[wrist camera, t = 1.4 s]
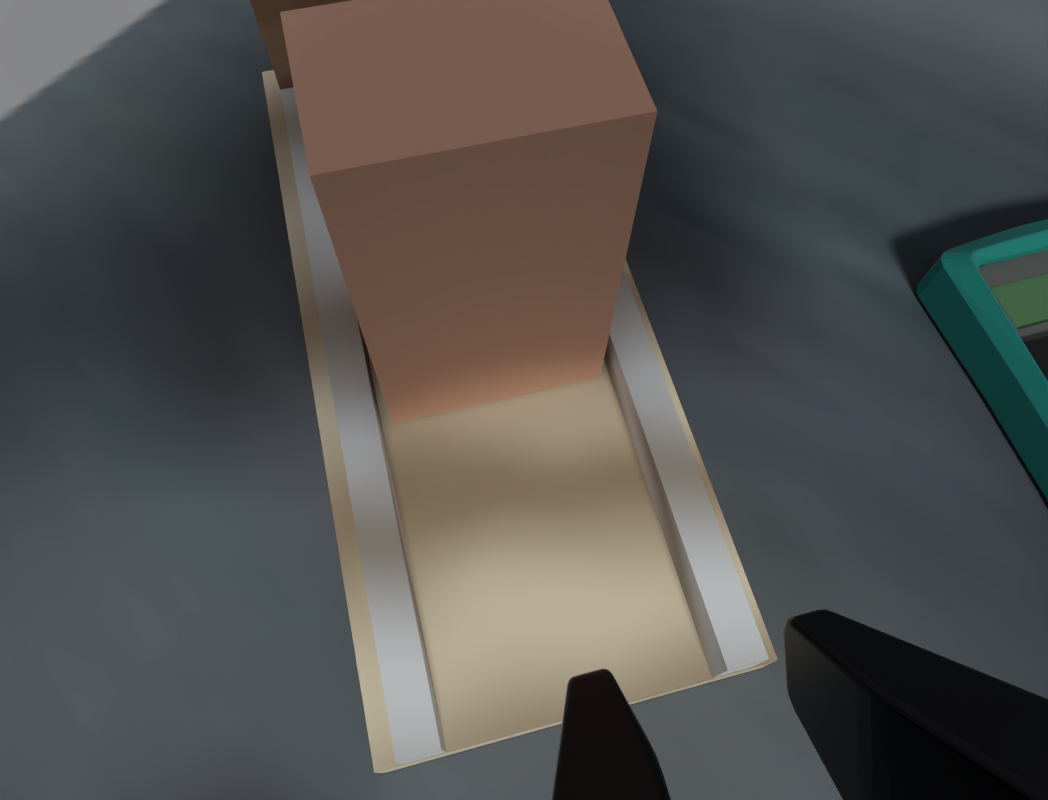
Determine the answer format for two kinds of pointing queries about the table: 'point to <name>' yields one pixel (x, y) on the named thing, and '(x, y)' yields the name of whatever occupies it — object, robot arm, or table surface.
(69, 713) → the table surface
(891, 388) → the table surface
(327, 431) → the rail
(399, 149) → the brown rectangular block
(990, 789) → the robot arm
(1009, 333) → the digital multimeter
